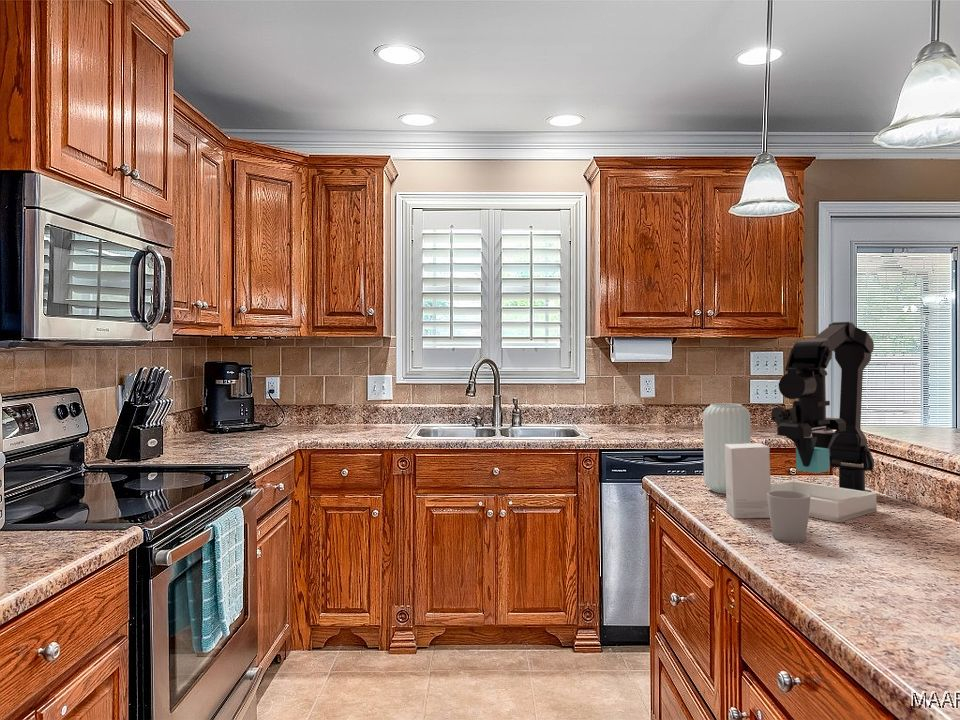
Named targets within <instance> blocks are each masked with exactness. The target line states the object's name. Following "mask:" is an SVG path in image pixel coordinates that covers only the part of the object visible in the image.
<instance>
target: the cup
mask: <svg viewBox="0 0 960 720" xmlns="http://www.w3.org/2000/svg"><path fill="white" fill-rule="evenodd" d="M767 498H768V506H769V514H770V518H769V521H770V525H771V531H772V537H773V538H774V539H775V540H777V541H781V542H785V543H801V542H802V543H803V542H804V541H805V540H806V538H807V531H808V523H809V518H810V517H809V507H810V495H809V494H806V493H802V492H796V491H771V492H768V493H767Z"/></svg>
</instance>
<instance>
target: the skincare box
mask: <svg viewBox="0 0 960 720" xmlns="http://www.w3.org/2000/svg"><path fill="white" fill-rule="evenodd" d="M770 450H771V448H770V446H768V445H765V444H763V443H761V442H755V443H753V442H751V443H747V444H725V469H726V494H725V495H726V497H725V498H726V513H727V514H728V515H730V516H731V517H732V518H733V519H734V520H736V519H770V514H769V506H768V498H767V493H768V492H771V481H772V480H771V458H770V457H771V456H770V453H771V451H770Z"/></svg>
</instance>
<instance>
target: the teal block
mask: <svg viewBox="0 0 960 720" xmlns="http://www.w3.org/2000/svg"><path fill="white" fill-rule="evenodd" d="M795 468H796V469H795V470H796V471H799V472H807V473H812V474H820V473H821V474H822V473H825V472H830V470H831V469H830V468H831V465H830V459H829V449H828V448H819V447H814V451H813V455H812V458H811V462H810V464H809V466H808V467H806V466H803V463H802V460H801V458H800V455H799V452H798V450H797V447H796V448H795Z"/></svg>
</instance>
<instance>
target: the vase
mask: <svg viewBox="0 0 960 720" xmlns="http://www.w3.org/2000/svg"><path fill="white" fill-rule="evenodd" d="M702 438H703V439H702V440H703V441H702V444H703V447H702V448H703V481H704V484H705V486H706V487H707V488H709V490H711V491H712V492H715V493H718V494H725V495H726V469H725V444H747V443H752V442H751V440H752V439H751V412H750V411H749V409H748V408H746V407H745V406H743V404H740V403H711V404H710V405H708V406H707V407H705V409H704V411H703V412H702Z"/></svg>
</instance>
